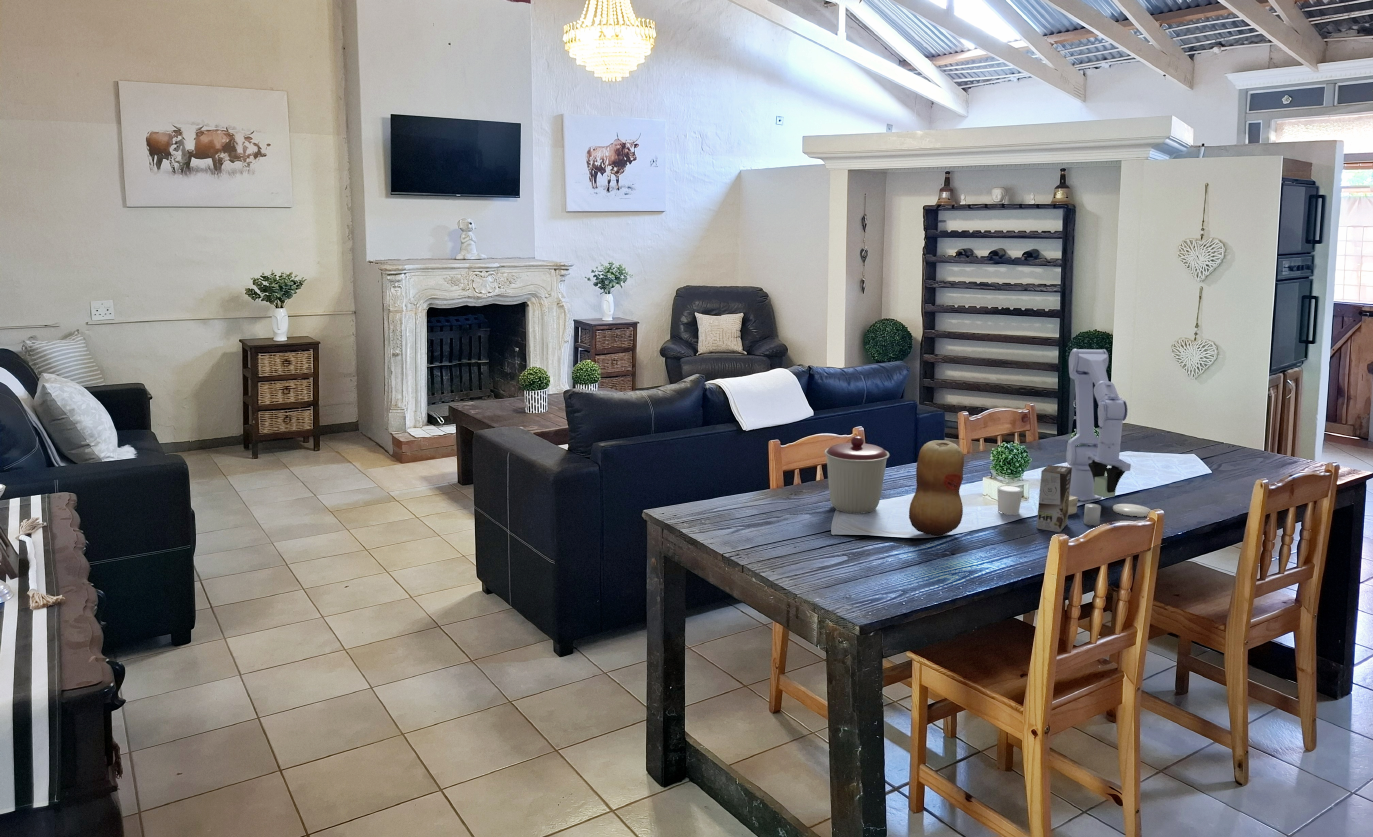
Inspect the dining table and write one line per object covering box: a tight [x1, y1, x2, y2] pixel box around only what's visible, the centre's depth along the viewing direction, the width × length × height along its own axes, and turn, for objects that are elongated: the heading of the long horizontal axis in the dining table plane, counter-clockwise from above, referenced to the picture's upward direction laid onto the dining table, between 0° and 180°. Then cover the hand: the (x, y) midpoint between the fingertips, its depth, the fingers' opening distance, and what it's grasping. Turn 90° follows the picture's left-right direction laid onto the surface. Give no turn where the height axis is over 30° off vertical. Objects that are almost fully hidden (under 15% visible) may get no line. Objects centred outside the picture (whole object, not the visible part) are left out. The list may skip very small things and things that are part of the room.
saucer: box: [1112, 503, 1152, 518], centre depth 288 cm, size 10×10×1 cm
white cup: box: [997, 484, 1024, 515], centre depth 287 cm, size 7×7×7 cm
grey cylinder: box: [1083, 503, 1102, 527], centre depth 277 cm, size 4×4×5 cm
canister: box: [824, 435, 890, 514], centre depth 287 cm, size 18×18×21 cm
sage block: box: [1093, 475, 1117, 499], centre depth 284 cm, size 4×4×5 cm
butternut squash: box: [908, 439, 965, 537], centre depth 264 cm, size 14×13×25 cm
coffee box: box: [1036, 464, 1072, 533], centre depth 273 cm, size 9×6×16 cm
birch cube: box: [1068, 496, 1079, 516], centre depth 287 cm, size 4×4×4 cm
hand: (1104, 489), depth 284 cm, fingers closed on sage block, 4 cm apart
